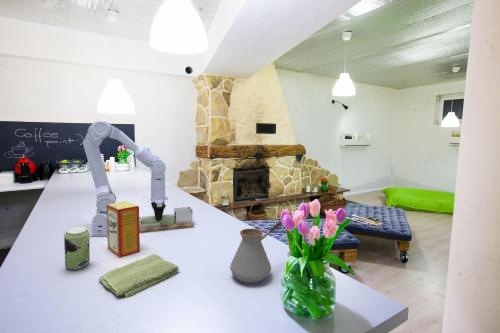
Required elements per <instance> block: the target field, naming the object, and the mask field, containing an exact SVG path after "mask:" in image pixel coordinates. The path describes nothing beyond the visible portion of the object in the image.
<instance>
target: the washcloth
mask: <svg viewBox="0 0 500 333" xmlns="http://www.w3.org/2000/svg"><path fill="white" fill-rule="evenodd" d="M179 270H180V269H179V266H178V265H176V264H174V263H173V262H171V261H168V260H167V261H166V260H164V258H162V257H161V256H160V255H157V254H155V253H153V254H150V255H147V256H146V257H144V258H141V259H138V260H137V259H136V260H135V261H133V262H130V263H129V264H126V265H123V266H121V267H117V268H114V269H112V270H109V271H108V272H105V273H103V275H101V276H99V278H98V281H100V282H101V283H102V284H103V286H105V288H107V289H108V290H110V291H111V292H112V293H114V294H115V295H116V296H117V297H118V296H123V297H124V298H125V299H127V298H130V297H132V296H133V295H136V294H138V293H139V292H141V291H144V290H146V289H147V288H148V289H149V288H150V287H153V286H154V285H157V284H158V283H160V282H162V281H165V280H166V279H169V278H170V277H172V276H175V275H176V274H177V272H179Z"/></svg>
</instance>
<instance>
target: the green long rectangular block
mask: <svg viewBox="0 0 500 333" xmlns="http://www.w3.org/2000/svg"><path fill="white" fill-rule="evenodd" d="M141 220H142V224H148V223H159V222H160V225H167V224H174V213H171V214H163V215H162V220H161V221H156V218H155V215H149V216H147V215H146V216H141Z"/></svg>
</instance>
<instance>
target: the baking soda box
mask: <svg viewBox="0 0 500 333" xmlns="http://www.w3.org/2000/svg"><path fill="white" fill-rule="evenodd" d="M139 217H140V205H137V204H134V203H132V202H130V201H127V200H126V201H120V202H115V203H112V204H107V234H108V236H107V250H108V251H110V252H111V253H112V254H113V255H115V256H117V258H119V259H122V258H123V257H127V256H130V255H131V256H132V255H135V254H137V253H140V251H141V248H140V247H141V246H140V237H141V236H140V233H139Z"/></svg>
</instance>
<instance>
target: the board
mask: <svg viewBox="0 0 500 333" xmlns="http://www.w3.org/2000/svg"><path fill="white" fill-rule="evenodd" d="M191 228H195V225H194V223H193V222H192V223H189V224H179V225H176V221H174V224H167V225H160V226H159V227H149V228H139V234H144V233H145V234H146V233H153V232H154V233H155V232H164V231H173V230H182V229H191Z"/></svg>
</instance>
